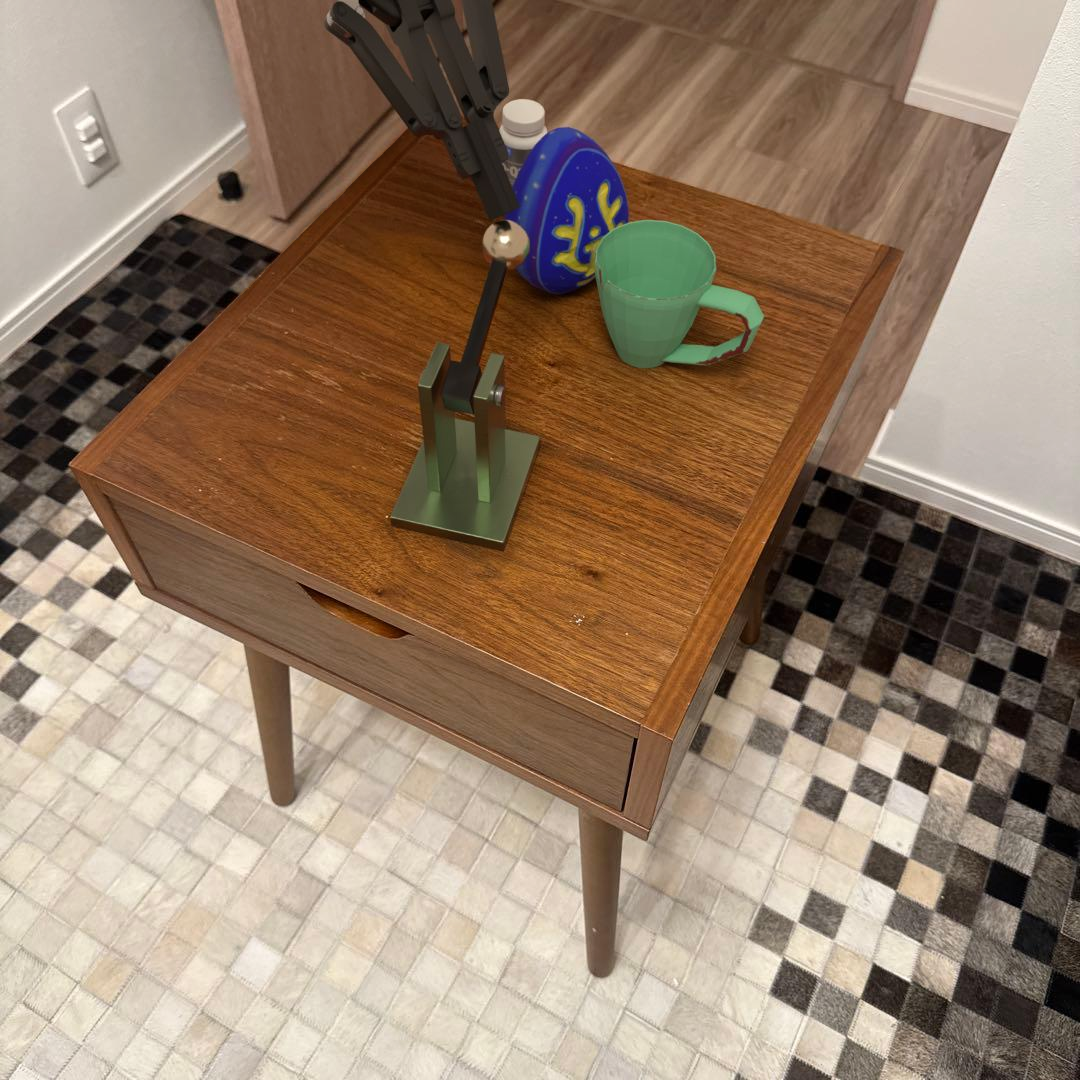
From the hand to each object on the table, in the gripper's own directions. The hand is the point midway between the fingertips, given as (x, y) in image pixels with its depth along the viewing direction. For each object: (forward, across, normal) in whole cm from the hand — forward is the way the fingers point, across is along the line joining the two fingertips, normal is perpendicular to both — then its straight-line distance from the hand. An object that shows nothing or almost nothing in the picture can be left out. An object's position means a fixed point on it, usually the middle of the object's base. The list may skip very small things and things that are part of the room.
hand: (504, 213), depth 78 cm
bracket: (+18, +9, -6) cm, 21 cm away
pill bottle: (-2, -16, -27) cm, 31 cm away
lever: (+7, +4, -1) cm, 8 cm away
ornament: (+7, -11, -18) cm, 22 cm away
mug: (+17, -13, -8) cm, 22 cm away
